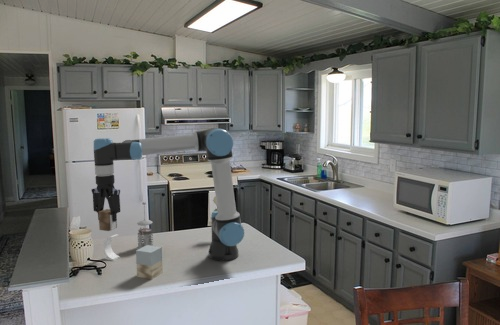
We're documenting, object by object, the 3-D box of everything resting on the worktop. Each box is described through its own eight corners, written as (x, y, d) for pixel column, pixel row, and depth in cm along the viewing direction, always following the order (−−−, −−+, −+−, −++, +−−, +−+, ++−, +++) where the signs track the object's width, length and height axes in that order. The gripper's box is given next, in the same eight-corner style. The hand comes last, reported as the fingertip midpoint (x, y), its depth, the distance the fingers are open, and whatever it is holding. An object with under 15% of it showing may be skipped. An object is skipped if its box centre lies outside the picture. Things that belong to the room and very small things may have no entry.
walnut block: (116, 227, 177) (115, 209, 176) (108, 231, 172) (107, 212, 171) (107, 226, 178) (106, 209, 177) (99, 229, 174) (98, 211, 173)
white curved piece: (113, 260, 199) (112, 236, 197) (103, 259, 201) (102, 235, 200) (119, 257, 203) (118, 234, 201) (110, 256, 205) (109, 233, 204)
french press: (157, 245, 222) (156, 200, 219) (150, 252, 211) (148, 204, 208) (140, 244, 223) (138, 199, 220) (132, 251, 212) (130, 204, 209)
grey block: (162, 260, 183) (161, 247, 182) (151, 266, 175) (151, 252, 175) (147, 257, 186) (147, 245, 185) (136, 263, 178) (135, 250, 178)
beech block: (162, 272, 183) (162, 260, 183) (152, 279, 176) (151, 266, 175) (148, 270, 186) (147, 257, 186) (137, 276, 179) (136, 263, 178)
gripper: (127, 174, 172) (130, 227, 175) (94, 172, 179) (97, 224, 182) (115, 177, 165) (119, 232, 168) (81, 175, 172) (85, 228, 175)
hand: (108, 228), depth 175 cm, fingers closed on walnut block, 5 cm apart
